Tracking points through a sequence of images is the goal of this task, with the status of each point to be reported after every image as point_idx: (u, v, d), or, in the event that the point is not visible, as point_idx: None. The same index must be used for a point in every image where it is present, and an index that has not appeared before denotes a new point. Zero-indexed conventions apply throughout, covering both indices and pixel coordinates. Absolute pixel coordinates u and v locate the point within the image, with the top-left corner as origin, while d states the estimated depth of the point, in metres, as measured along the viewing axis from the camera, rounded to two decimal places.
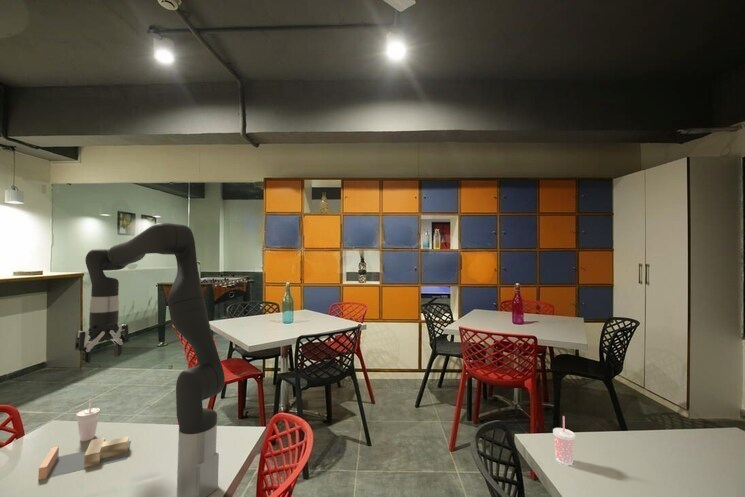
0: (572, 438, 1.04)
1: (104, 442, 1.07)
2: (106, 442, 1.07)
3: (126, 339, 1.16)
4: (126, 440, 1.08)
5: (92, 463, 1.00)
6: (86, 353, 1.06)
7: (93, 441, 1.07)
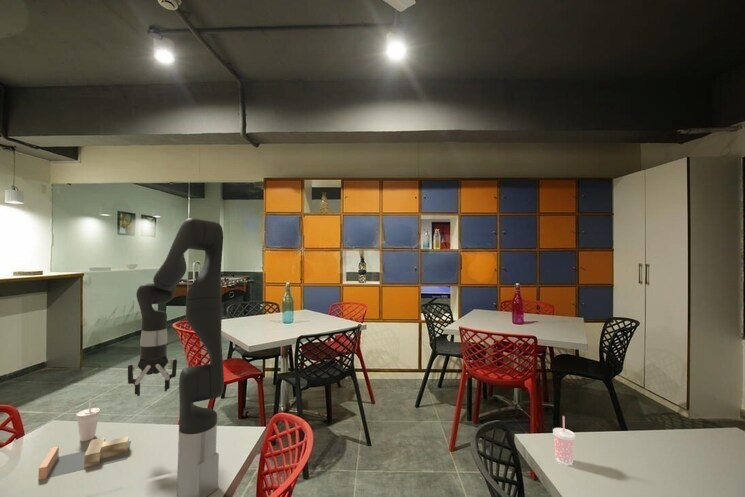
0: (572, 438, 1.04)
1: (104, 442, 1.07)
2: (106, 442, 1.07)
3: None
4: (126, 440, 1.08)
5: (92, 463, 1.00)
6: None
7: (93, 441, 1.07)
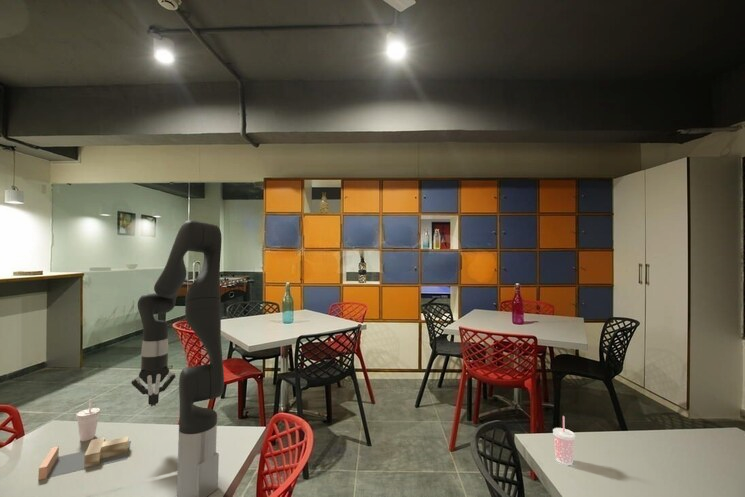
0: (572, 438, 1.04)
1: (104, 442, 1.07)
2: (106, 442, 1.07)
3: None
4: (126, 440, 1.08)
5: (92, 463, 1.00)
6: None
7: (93, 441, 1.07)
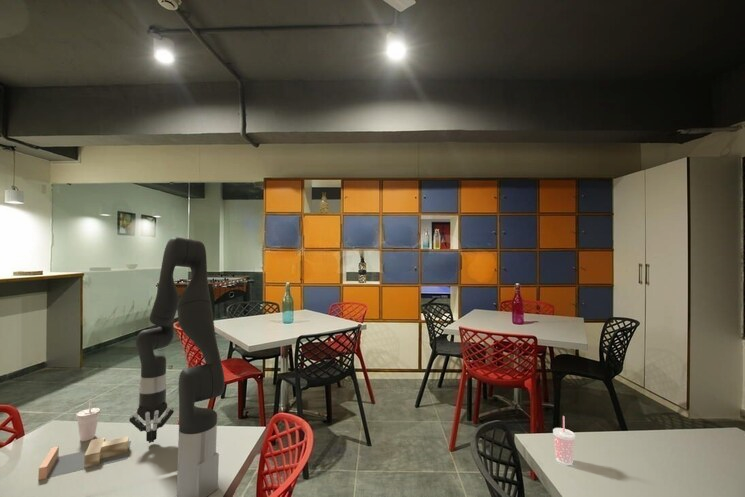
0: (572, 438, 1.04)
1: (104, 442, 1.07)
2: (106, 442, 1.07)
3: None
4: (126, 440, 1.08)
5: (92, 463, 1.00)
6: None
7: (93, 441, 1.07)
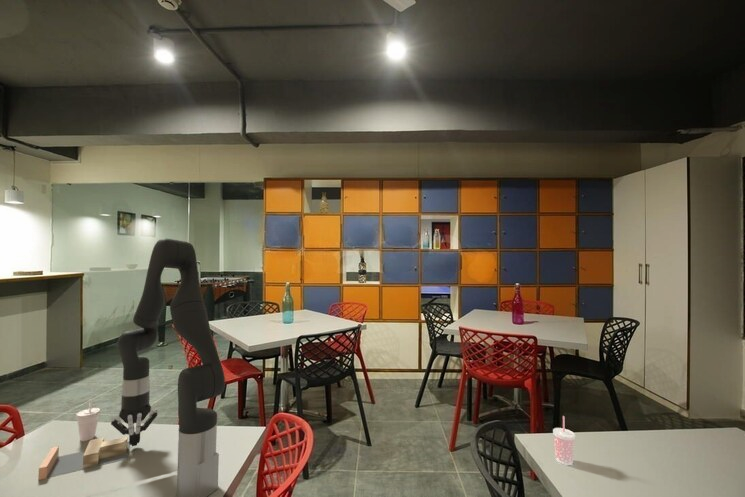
0: (572, 438, 1.04)
1: (103, 442, 1.06)
2: (105, 442, 1.06)
3: None
4: (125, 440, 1.08)
5: (90, 463, 1.00)
6: None
7: (92, 441, 1.07)
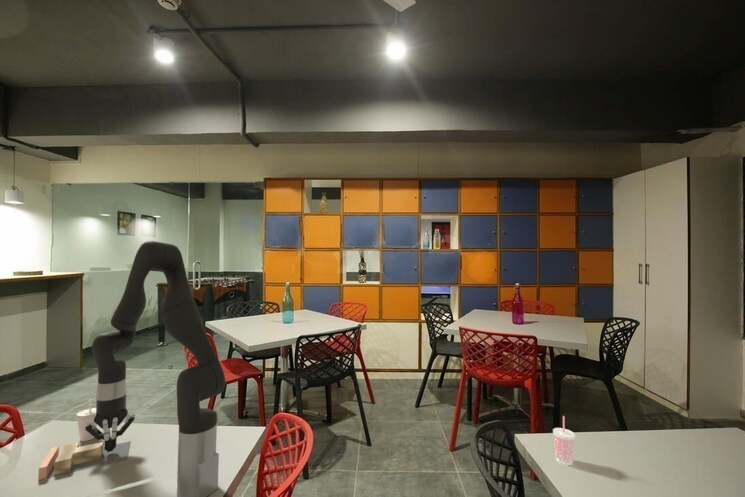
0: (572, 438, 1.04)
1: (77, 448, 1.03)
2: (79, 448, 1.03)
3: None
4: (100, 446, 1.04)
5: (62, 470, 0.97)
6: None
7: (66, 447, 1.04)
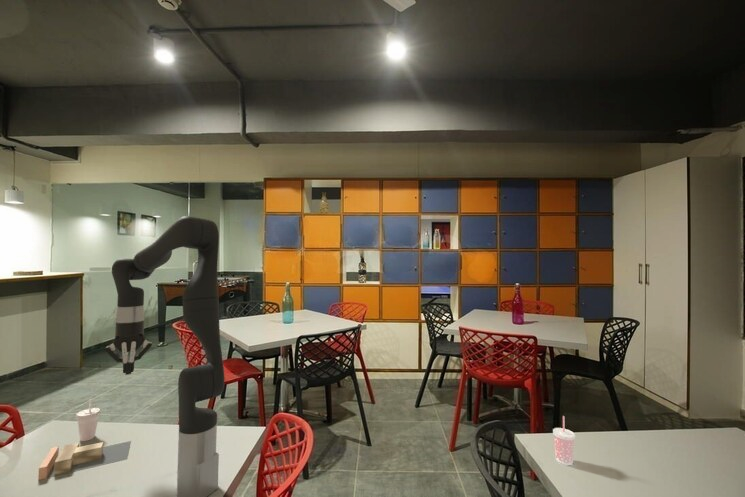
0: (572, 438, 1.04)
1: (77, 448, 1.03)
2: (79, 448, 1.03)
3: None
4: (100, 446, 1.04)
5: (62, 470, 0.97)
6: None
7: (66, 447, 1.04)
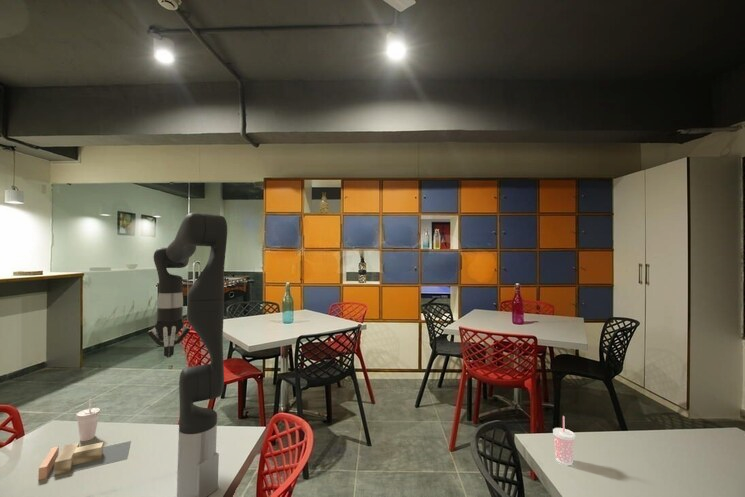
0: (572, 438, 1.04)
1: (77, 448, 1.03)
2: (79, 448, 1.03)
3: None
4: (100, 446, 1.04)
5: (62, 470, 0.97)
6: None
7: (66, 447, 1.04)
